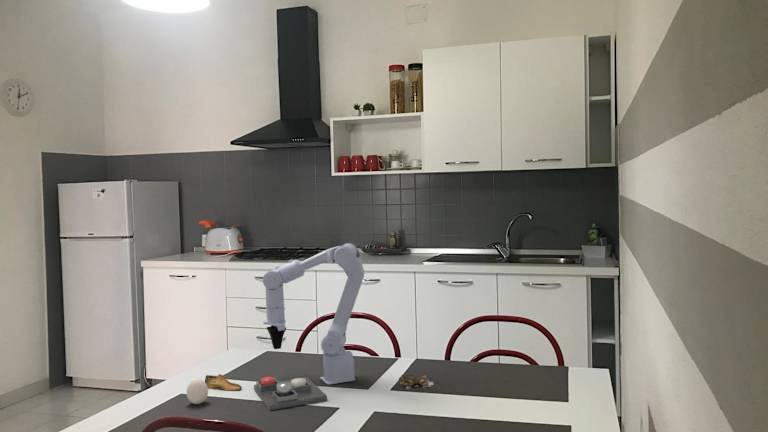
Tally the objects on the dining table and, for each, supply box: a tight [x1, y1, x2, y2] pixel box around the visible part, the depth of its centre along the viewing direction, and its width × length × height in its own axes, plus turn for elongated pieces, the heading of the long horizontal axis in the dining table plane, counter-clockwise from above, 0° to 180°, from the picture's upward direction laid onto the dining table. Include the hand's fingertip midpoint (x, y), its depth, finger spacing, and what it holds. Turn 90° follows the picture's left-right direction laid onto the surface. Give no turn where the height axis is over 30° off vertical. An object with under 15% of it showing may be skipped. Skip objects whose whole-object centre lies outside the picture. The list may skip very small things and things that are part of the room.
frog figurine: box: [398, 374, 435, 390], centre depth 202 cm, size 12×12×4 cm
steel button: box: [277, 382, 292, 395], centre depth 189 cm, size 4×4×2 cm
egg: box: [186, 377, 209, 405], centre depth 192 cm, size 6×6×8 cm
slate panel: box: [253, 376, 328, 411], centre depth 197 cm, size 17×21×3 cm
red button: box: [260, 376, 276, 386], centre depth 200 cm, size 4×4×2 cm
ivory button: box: [291, 377, 306, 387], centre depth 198 cm, size 4×4×2 cm
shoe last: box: [204, 373, 242, 392], centre depth 206 cm, size 4×14×5 cm, turn 64°
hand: (277, 348), depth 212 cm, fingers closed
